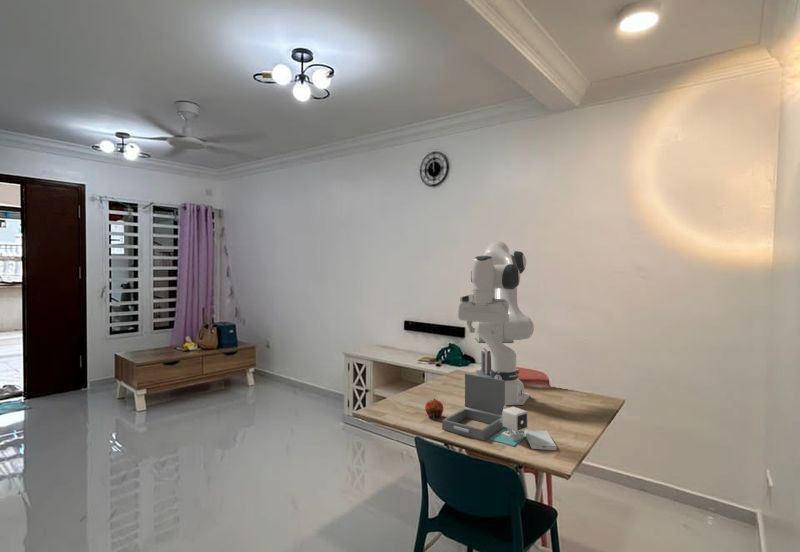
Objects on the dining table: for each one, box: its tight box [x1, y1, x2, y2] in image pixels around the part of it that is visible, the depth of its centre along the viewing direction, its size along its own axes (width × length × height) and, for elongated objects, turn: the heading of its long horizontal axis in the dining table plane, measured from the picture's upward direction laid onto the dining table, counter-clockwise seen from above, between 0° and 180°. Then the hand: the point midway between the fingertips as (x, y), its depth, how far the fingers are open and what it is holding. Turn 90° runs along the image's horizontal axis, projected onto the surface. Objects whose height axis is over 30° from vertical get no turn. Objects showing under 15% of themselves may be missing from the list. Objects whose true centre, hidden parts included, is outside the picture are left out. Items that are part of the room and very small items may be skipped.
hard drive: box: [523, 429, 558, 451], centre depth 149 cm, size 2×8×12 cm
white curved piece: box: [474, 322, 515, 378], centre depth 233 cm, size 18×14×33 cm
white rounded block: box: [502, 406, 529, 441], centre depth 152 cm, size 6×7×10 cm
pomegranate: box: [424, 398, 444, 421], centre depth 174 cm, size 7×7×10 cm
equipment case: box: [441, 373, 507, 442], centre depth 162 cm, size 19×18×18 cm
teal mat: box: [489, 428, 526, 447], centre depth 153 cm, size 12×9×1 cm
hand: (482, 333), depth 165 cm, fingers open, 8 cm apart
